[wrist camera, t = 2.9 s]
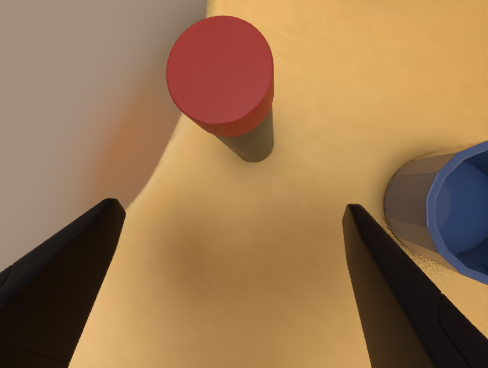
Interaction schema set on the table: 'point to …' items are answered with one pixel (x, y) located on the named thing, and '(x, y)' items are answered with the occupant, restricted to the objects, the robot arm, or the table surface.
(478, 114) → the table surface
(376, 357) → the robot arm
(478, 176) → the cup
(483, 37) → the table surface
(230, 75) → the disc
